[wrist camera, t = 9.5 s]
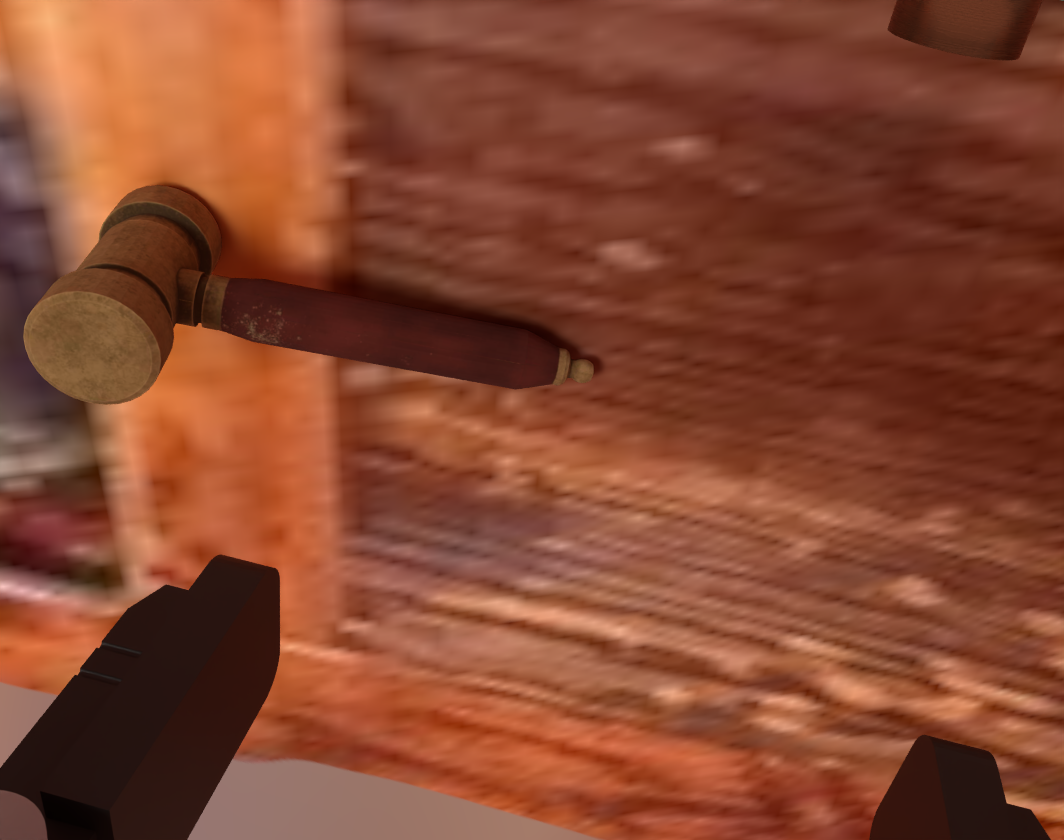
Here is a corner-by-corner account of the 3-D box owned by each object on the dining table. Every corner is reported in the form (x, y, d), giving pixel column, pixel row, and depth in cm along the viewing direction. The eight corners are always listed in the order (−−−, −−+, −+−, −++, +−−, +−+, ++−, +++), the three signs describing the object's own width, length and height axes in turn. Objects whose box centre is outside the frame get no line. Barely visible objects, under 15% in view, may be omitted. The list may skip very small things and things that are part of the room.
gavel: (597, 272, 44) (623, 393, 36) (571, 357, 46) (589, 488, 38) (113, 173, 40) (17, 281, 32) (113, 271, 43) (25, 395, 35)
